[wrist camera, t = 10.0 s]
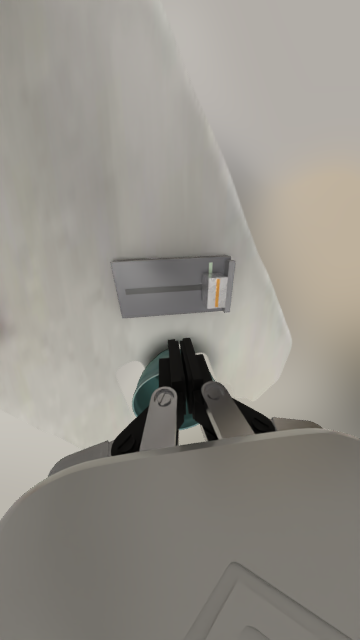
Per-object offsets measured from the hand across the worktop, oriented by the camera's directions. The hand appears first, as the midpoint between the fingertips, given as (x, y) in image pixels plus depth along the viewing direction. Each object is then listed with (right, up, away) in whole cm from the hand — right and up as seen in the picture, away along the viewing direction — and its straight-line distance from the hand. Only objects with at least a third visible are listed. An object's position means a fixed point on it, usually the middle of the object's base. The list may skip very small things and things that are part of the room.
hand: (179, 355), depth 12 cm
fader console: (-1, +9, +19) cm, 21 cm away
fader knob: (+5, +9, +17) cm, 20 cm away
